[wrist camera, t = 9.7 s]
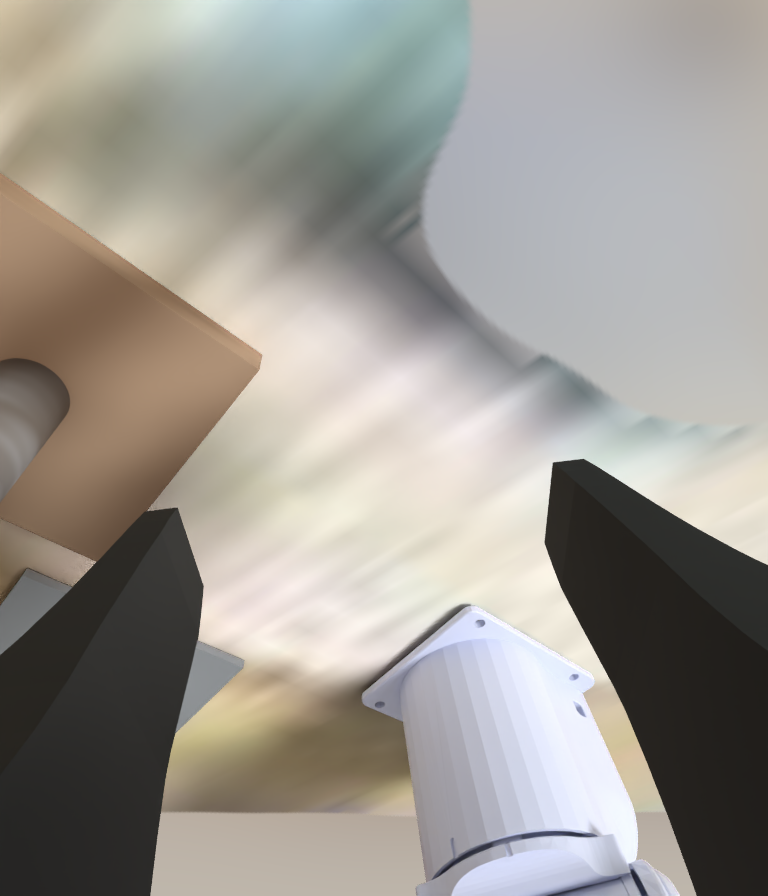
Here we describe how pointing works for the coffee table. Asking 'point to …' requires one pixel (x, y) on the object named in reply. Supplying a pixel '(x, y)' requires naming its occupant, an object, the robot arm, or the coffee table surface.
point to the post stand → (97, 380)
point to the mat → (43, 593)
